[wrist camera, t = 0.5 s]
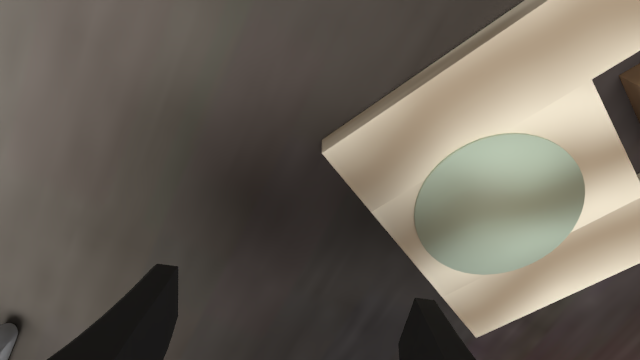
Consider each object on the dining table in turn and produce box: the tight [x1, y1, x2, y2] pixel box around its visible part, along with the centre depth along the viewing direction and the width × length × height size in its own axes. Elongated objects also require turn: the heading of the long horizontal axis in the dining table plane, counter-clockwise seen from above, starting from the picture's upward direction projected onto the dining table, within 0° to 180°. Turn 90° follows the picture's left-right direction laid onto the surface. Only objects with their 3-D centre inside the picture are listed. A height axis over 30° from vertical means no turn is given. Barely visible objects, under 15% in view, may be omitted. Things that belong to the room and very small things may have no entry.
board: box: [322, 0, 640, 338], centre depth 21 cm, size 15×20×2 cm
